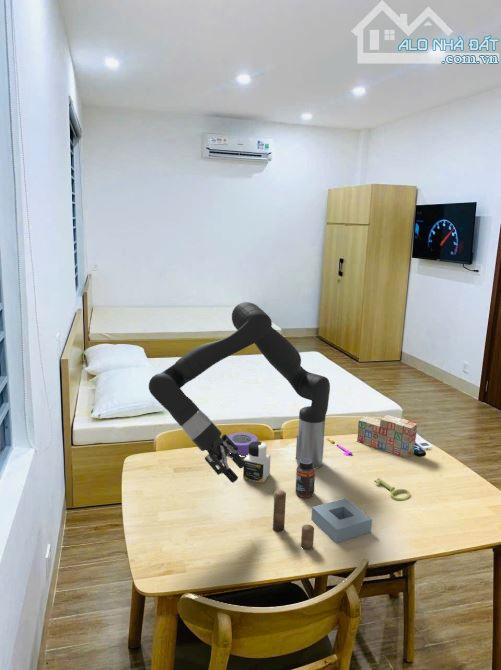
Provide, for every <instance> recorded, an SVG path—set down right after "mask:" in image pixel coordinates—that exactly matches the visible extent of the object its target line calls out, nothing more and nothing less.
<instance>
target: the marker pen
mask: <svg viewBox="0 0 501 670" xmlns="http://www.w3.org/2000/svg"><path fill="white" fill-rule="evenodd" d="M326 440H327V441H328V442H330V443H331V444H334V445H336V447H338V448H339V449H340V450H342V451H343V452H344V453H342V454H343V455H345V456H346V457H347V456H352V455H353V452H351V451H350V450H348V449H346V448H345V447H344V446H342V445H340V444H337V443H335V441H334V440H333V439H331V438H328V437H326Z"/></svg>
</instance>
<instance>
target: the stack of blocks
mask: <svg viewBox="0 0 501 670" xmlns="http://www.w3.org/2000/svg"><path fill="white" fill-rule="evenodd" d="M357 426H358V428H357V429H358V430H357V439H356V440H357V442H359V443H361V444H364V445H366V446H367V445H368V446H371V447H373V448H376V449H379V450H382V451H384V452H388V453H391V454H393V455H397V456H400V457H402V458H406V459H409V458H410V457H411V456H412V455H413V454H414V453H415V448H416V447H415V445H416V439H417V430H418V423H415V422H412V421H410V420H408V419H403V418H399V417H396V416H392V415H389V414H386V415H385V416H383V417H382V418H380V419H377V418H374V417H370V416H364V417H362V418H360V419H359V420H358V425H357Z"/></svg>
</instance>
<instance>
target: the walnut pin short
mask: <svg viewBox="0 0 501 670" xmlns="http://www.w3.org/2000/svg"><path fill="white" fill-rule="evenodd" d="M314 536H315V527H314V526H313V525H311V524H303V525H302V527H301V538H300V539H301V540H300V541H301V542H300V548H301V547H302V548H303V549H302V548H301V549H302V550H304V551H311V550H313V548H314Z"/></svg>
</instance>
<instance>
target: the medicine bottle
mask: <svg viewBox="0 0 501 670" xmlns="http://www.w3.org/2000/svg"><path fill="white" fill-rule="evenodd" d="M243 461H244V462H245V463H246V464H245V466H244V467H243V468H242V469H243V473H242V478H245V479H244V480H247V479H249V480H248V481H251V480H253V481H252V482H255V481H257V482H256V483H260V482H261V483H260V484H263V483H264V482H265V481H266V479H267V478H268V477H269V476H270V474H271V455H270V454H268V453H267V444H266V443H265V442H263V441H260V440H259V441H258V440H257V441H255V442H251V443H250V444H249V450H248V456H247V457H244V459H243Z"/></svg>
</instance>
